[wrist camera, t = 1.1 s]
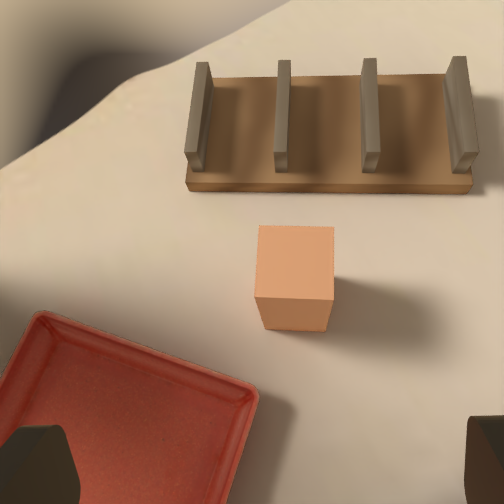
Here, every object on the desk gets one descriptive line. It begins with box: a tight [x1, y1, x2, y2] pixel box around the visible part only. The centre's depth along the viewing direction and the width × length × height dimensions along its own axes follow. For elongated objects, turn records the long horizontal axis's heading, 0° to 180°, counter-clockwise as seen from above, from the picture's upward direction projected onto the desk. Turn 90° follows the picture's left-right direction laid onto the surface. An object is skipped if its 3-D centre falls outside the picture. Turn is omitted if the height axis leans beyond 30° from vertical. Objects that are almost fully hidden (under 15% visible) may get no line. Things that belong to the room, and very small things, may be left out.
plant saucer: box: [0, 310, 260, 504], centre depth 30 cm, size 18×18×3 cm
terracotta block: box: [254, 226, 334, 332], centre depth 31 cm, size 4×4×9 cm
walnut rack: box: [184, 56, 479, 194], centre depth 38 cm, size 23×11×4 cm, turn 86°
